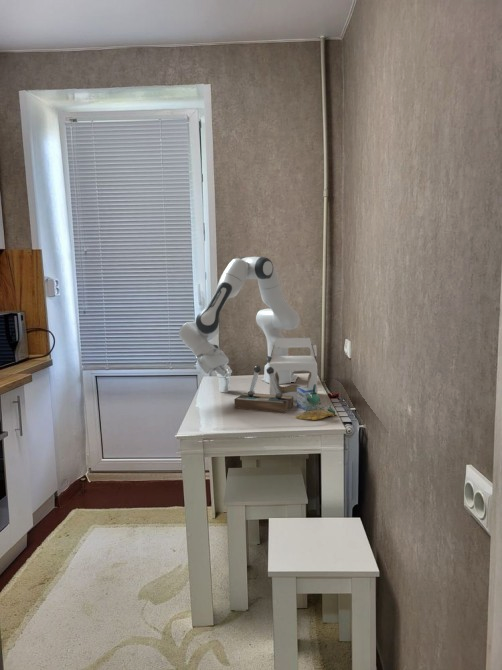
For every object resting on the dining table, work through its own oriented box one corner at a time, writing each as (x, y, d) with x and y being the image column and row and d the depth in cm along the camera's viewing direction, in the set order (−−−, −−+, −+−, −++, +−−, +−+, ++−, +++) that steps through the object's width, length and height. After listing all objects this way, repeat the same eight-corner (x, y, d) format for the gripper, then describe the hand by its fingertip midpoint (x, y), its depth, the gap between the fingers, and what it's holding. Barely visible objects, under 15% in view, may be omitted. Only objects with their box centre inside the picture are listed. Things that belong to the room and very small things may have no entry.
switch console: (245, 401, 220) (245, 391, 220) (294, 405, 212) (294, 395, 211) (234, 408, 209) (234, 397, 209) (286, 412, 201) (286, 402, 200)
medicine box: (296, 406, 210) (296, 386, 209) (305, 404, 212) (305, 385, 211) (305, 410, 203) (305, 390, 202) (314, 409, 205) (314, 389, 204)
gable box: (316, 393, 232) (316, 335, 228) (318, 400, 218) (317, 339, 215) (270, 393, 234) (269, 336, 230) (269, 400, 220) (268, 340, 217)
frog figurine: (340, 421, 188) (336, 384, 186) (295, 426, 189) (290, 390, 187) (337, 413, 198) (333, 378, 196) (293, 418, 199) (289, 384, 197)
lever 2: (277, 398, 209) (266, 367, 209) (284, 396, 208) (273, 365, 208) (275, 400, 206) (264, 368, 207) (282, 398, 205) (271, 366, 205)
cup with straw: (213, 392, 237) (211, 352, 234) (219, 388, 245) (218, 349, 243) (229, 393, 234) (228, 353, 231) (235, 389, 243) (234, 350, 240)
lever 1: (248, 393, 214) (256, 364, 211) (255, 396, 213) (262, 366, 210) (245, 395, 211) (253, 365, 208) (252, 397, 210) (260, 367, 207)
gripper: (199, 351, 207) (220, 375, 205) (219, 344, 226) (238, 366, 224) (190, 361, 209) (211, 384, 207) (211, 353, 228) (230, 375, 226)
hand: (225, 375), depth 215 cm, fingers closed
